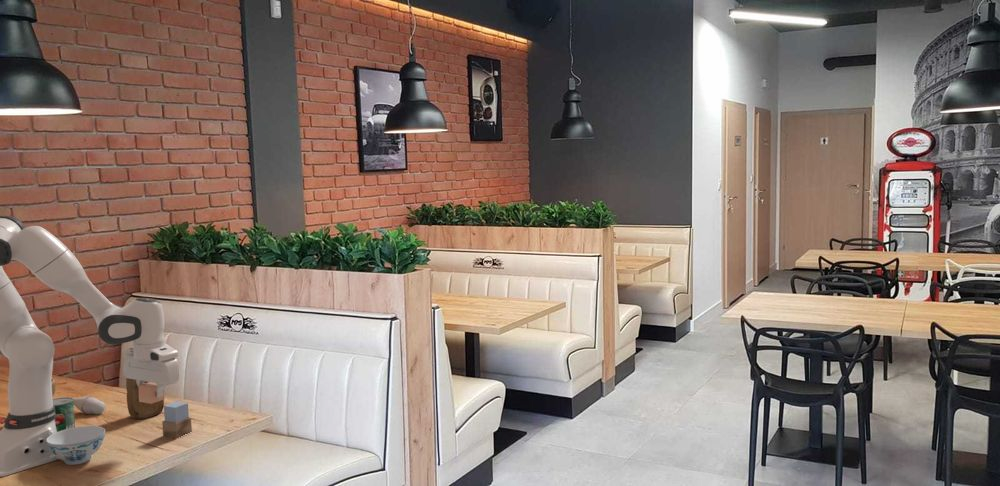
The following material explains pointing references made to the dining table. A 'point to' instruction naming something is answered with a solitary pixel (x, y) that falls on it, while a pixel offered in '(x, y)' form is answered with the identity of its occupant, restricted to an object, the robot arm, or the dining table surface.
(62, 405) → the canned tomato
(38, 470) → the dining table surface
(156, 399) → the cube
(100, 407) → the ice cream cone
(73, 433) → the chinaware
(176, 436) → the tower base
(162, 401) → the brown oval lump
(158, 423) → the dining table surface
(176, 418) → the tower mid
